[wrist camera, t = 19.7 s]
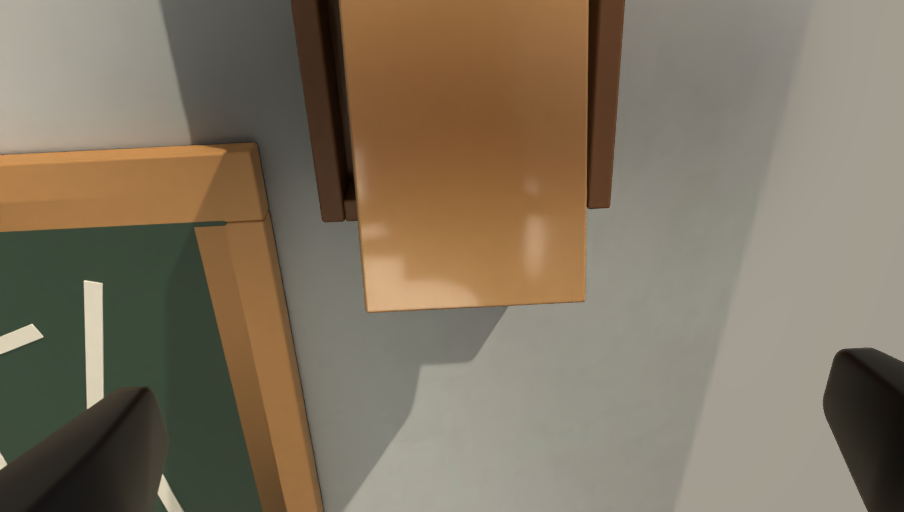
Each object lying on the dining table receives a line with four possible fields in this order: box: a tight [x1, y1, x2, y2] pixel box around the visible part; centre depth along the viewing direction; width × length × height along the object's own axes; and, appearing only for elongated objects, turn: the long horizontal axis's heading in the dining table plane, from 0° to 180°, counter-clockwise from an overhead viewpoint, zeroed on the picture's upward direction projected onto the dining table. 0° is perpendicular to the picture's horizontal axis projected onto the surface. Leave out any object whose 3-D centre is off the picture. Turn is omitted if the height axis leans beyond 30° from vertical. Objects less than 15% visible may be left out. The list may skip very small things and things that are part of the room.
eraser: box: [339, 0, 589, 313], centre depth 15 cm, size 9×4×4 cm, turn 2°
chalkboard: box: [0, 143, 324, 512], centre depth 23 cm, size 16×20×1 cm
